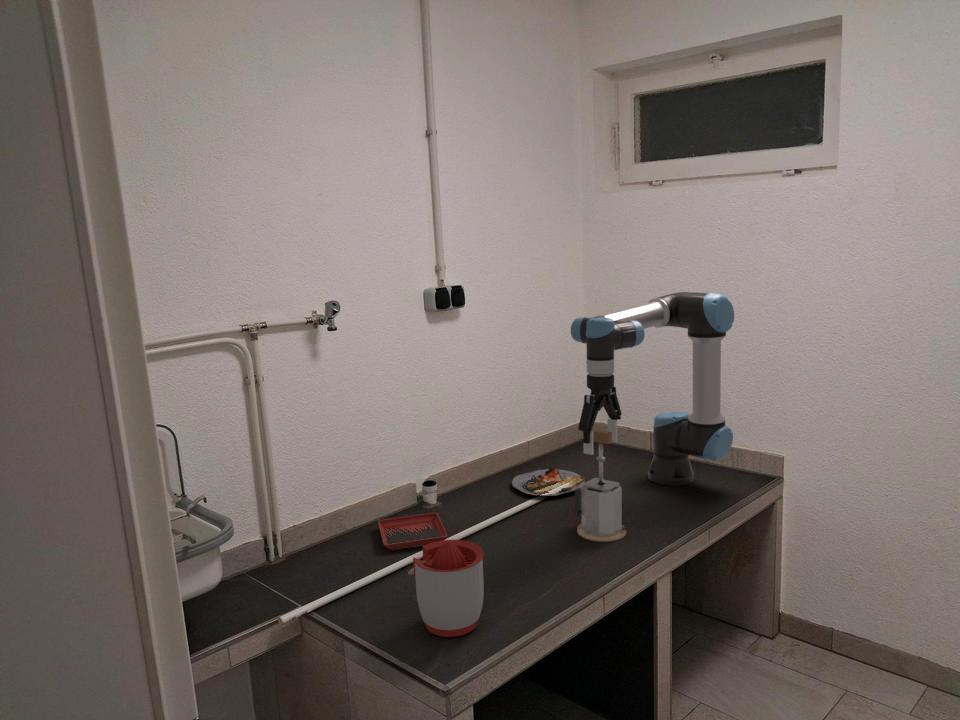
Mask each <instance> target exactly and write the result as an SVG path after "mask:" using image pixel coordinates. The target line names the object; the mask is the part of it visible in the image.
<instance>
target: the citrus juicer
mask: <svg viewBox="0 0 960 720" xmlns="http://www.w3.org/2000/svg"><path fill="white" fill-rule="evenodd" d="M484 555H485V553H484V551H483V549H482V547H480V546H479V545H478V544H476V543H474V542H471V541H467V540H461V539H445V540H442V541H436V542H432V543H429V544H427V545H424V546H422V560H421V559H420V558H417V557H413V558H412V564H413V567H412V568H411V569H409V570H408V572H407V575H413V580H415V591H416V592H415V593H416V600H417V606H418V609H419V614H420V615H421V619H422V620H421V621H423V624H424V625H425V627H426V630H427V631H428V632H430V633H431V634H433V635H436V636H438V637H443V638H454V637H463V636H464V635H467V634H470V632H472V631H473V630H474V629H475V628H476V627H477V625H478V623H479V620H480V617H481V614H482V613H481V612H482V609H483V605H484V604H483V603H484V592H485V591H484V589H485V588H484V587H485V586H484V568H483V567H484V564H483V561H484V560H483V558H484Z"/></svg>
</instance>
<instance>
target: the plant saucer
mask: <svg viewBox="0 0 960 720" xmlns="http://www.w3.org/2000/svg"><path fill="white" fill-rule="evenodd" d="M377 523H378V527H379V531H380V532H379V533H380V536H381V537H380V538H381V539H382V545H383V546H384V547H385V548H386V549H388V550H389V549H396V548H403V547H410V546H417V545H426V544H429V543H432V542H436V541H442V540H446V539H447V537H448V534H447V531H446V529H445V527H444V525H443V523H442V520H441V518H440V516H439V513H437V512H430V513H429V512H428V513H424V514H423V513H421V514H415V515H409V516H408V515H407V516H399V517H393V518H385V519H380V520H378V521H377ZM428 523H429V524H428ZM425 524H426V526H427V525H428V527H430V529H433V527H435V528H436V530H437V531H438V533H439V535H440V537H435V538H427V539H420V540H413V541H406V542H399V543H392V544H388V543H387V538H386V535H387V534H388V533H389V535H390V534H391V533H393V532H394V531H395V530H396V529H397V528H398V527H399V529H401V530H403V531H405V532H407V531H408V530H409V532H410V531H411V532H413V533H414V531H416V532H418V531H419V530H420V531H421V529H423V530H424V527H425V529H427V527H426V526H425ZM430 524H431V525H430ZM432 525H433V526H432ZM422 526H423V527H422ZM396 527H397V528H396ZM387 528H390V529H391V530H389V529H387ZM392 528H395V530H394V529H392ZM404 528H405V529H407V531H406V530H405V529H404ZM410 528H411V529H410ZM415 528H416V529H418V531H417V530H416V529H415ZM420 528H421V529H420ZM385 529H386V530H387V531H386V530H385ZM392 530H393V532H392ZM413 530H414V531H413ZM388 531H389V532H388ZM397 531H399V532H401V533H403V532H402V531H400V530H398V529H397ZM397 531H395V532H397ZM385 532H386V533H387V534H386V533H385ZM390 532H391V533H390ZM421 532H422V531H421ZM407 533H408V532H407ZM418 533H419V532H418ZM393 534H394V533H393ZM403 534H404V533H403ZM409 534H411V533H409ZM415 534H416V533H415ZM389 535H387V536H389ZM395 535H396V534H395ZM405 535H406V534H405ZM411 535H412V534H411ZM416 535H417V534H416ZM391 536H392V534H391ZM389 537H390V536H389ZM421 537H422V536H421Z"/></svg>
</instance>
